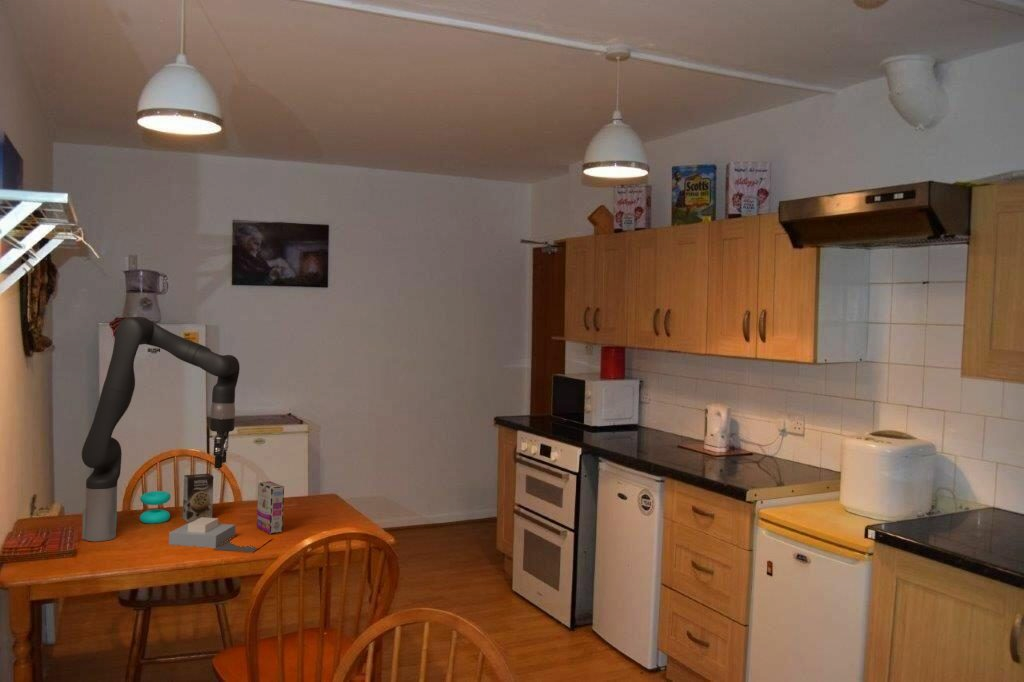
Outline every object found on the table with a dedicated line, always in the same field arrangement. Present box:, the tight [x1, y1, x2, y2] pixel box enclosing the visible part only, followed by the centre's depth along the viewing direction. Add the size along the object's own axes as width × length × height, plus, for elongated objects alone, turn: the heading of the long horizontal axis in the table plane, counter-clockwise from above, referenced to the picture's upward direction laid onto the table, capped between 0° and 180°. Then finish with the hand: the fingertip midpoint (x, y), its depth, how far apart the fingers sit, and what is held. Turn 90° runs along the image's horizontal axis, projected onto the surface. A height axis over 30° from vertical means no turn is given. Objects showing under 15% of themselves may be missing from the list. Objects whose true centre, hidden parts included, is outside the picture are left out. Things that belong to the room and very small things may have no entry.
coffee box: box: [182, 473, 214, 523], centre depth 290 cm, size 9×6×16 cm
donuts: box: [139, 490, 172, 524], centre depth 286 cm, size 10×10×10 cm
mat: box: [213, 539, 258, 553], centre depth 262 cm, size 13×16×1 cm
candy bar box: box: [256, 480, 285, 535], centre depth 279 cm, size 11×5×16 cm, turn 42°
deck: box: [168, 522, 236, 549], centre depth 264 cm, size 16×14×4 cm
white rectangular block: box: [188, 517, 219, 533], centre depth 264 cm, size 6×9×2 cm, turn 174°
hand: (220, 465), depth 259 cm, fingers open, 8 cm apart
